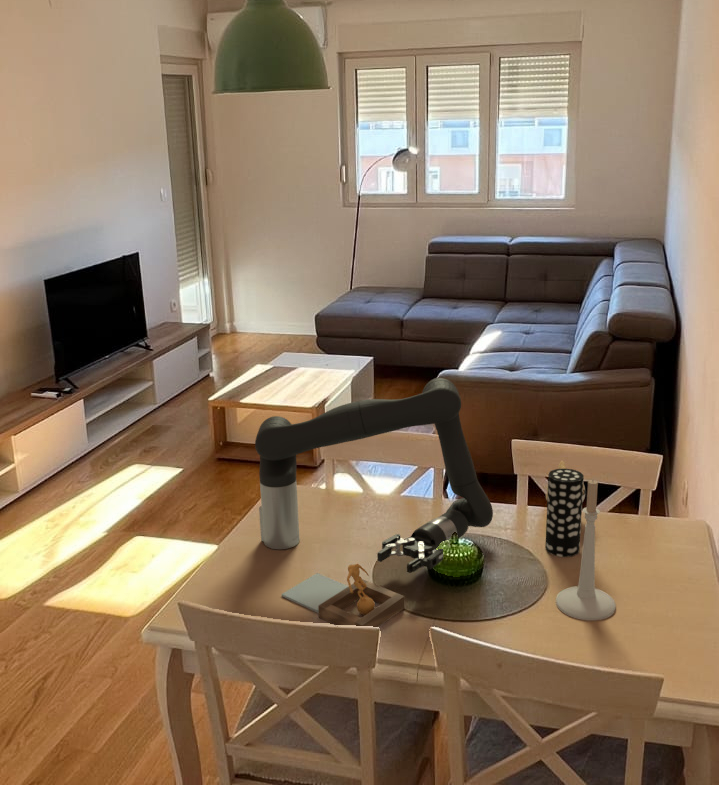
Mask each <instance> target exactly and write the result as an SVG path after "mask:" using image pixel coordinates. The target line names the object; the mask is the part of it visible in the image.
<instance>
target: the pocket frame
mask: <svg viewBox="0 0 719 785" xmlns="http://www.w3.org/2000/svg"><path fill="white" fill-rule="evenodd" d="M362 580H363V581H364V583H365V584H366V585H367V586H366V588H365V589H364V590H363V592H364V593H365V595H367V596H368V597H370V598H371V599H372V600H373V601H374V603H377V604H379V605H378V606H375V609H374V610H372V611H371V612H369V613H368V614H366V615H362V617H359V616H358V615H356V614H354V613H351V612H348V611H347V610H344V609H346V608H347V607H349V606H350V605H352V604H353V603H355V602H356V601H359V599H360V597H359V595H358V591H359V589H358V588H357V587H356V586H355V585H354V582H353V583H352V584H351V588H352V589H353V592H354V593H353V592H350V587H347V588H345V589H344V590H342V591H341V592H339V593H338V594H336V595H334V596H333V597H331V598H330V599H328V600H326V601H325V602H323V603H322V604H320V605H319V606H318V609H319V613H318V618H319V619H321V620H323V621H325V622H328V623H330V624H332V625H334V626H336V625H356V626H373V627H377V628H379V627H380V626H381V625H383V624H384V623H385V622H387V621H388V620H390V619H391V618H393V617H394V616H396V615H397V614H398V613H400V612H401V611H402V610H404V609H405V595H403V594H400V593H398V592H395V591H392V590H390V589H387V588H385V587H383V586H381V585H378V584H376V583H373V582H371V581H368V580H366V579H364V578H362ZM361 586H362V585H361ZM362 587H363V586H362ZM352 593H353V594H352ZM360 595H361V596H362V597H364V596H363V594H362V593H360Z"/></svg>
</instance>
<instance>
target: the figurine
mask: <svg viewBox="0 0 719 785" xmlns="http://www.w3.org/2000/svg"><path fill="white" fill-rule="evenodd" d="M360 570H361V571H363V572H364V573H366V575H367V576H368V577H369V573H368V572H367V570H366V569H365V568H363V567H362V565H360V564H359V563H355V564H350V565H349V566H347V571H348V575H347V577H346V581H347V586H349V587H350V592H353V589H352V588H351V585H352V584H351V581H350V579H351V577H352V579H353V583H354V585H355V586H356V587H357V588H358V589H359V591H358V595H359V597H360V599H358V600H357V603H356V609H357V611H358V613H359V614H361V615H362V616H365V615H366V614H368V613H369V612H371V611H372V610H374V609H375V608H376V604H375V603H376V602H374V601H373V600H372V599H371V598H370V597H368V596H367V595H365V593H364V592H363V590H364V589H365V588H366V586H367V585H366V584H365V583H364V581H363V580H364V579H363V578H362V576H360V572H361V571H360ZM362 579H363V580H362ZM361 585H362V586H363V587H362V586H361ZM353 593H354V592H353ZM353 593H352V594H353ZM360 593H362V594H363V596H364V597H362V596H361V595H360Z"/></svg>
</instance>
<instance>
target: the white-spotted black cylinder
mask: <svg viewBox="0 0 719 785" xmlns="http://www.w3.org/2000/svg"><path fill="white" fill-rule="evenodd" d="M584 476H585V475H584V474H583V473H582V472H580V471H579V470H576V469H572V468H566V469H559V468H556V469H553V470H550V471H549V472H548V480H547V487H548V499H547V500H546V503H547V504H546V524H545V525H546V526H545V543H544V544H545V545H544V546H545V547H544V548H545V550H546V552H548V554H550V555H553V556H556V557H560V558H561V557H562V558H569V557H570V558H571V557H573V556H576V555H578V554H579V553H580V546H581V531H582V528H581V527H582V515H583V513H582V512H583V502H582V497H583V483H584V481H585V480H584Z"/></svg>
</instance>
